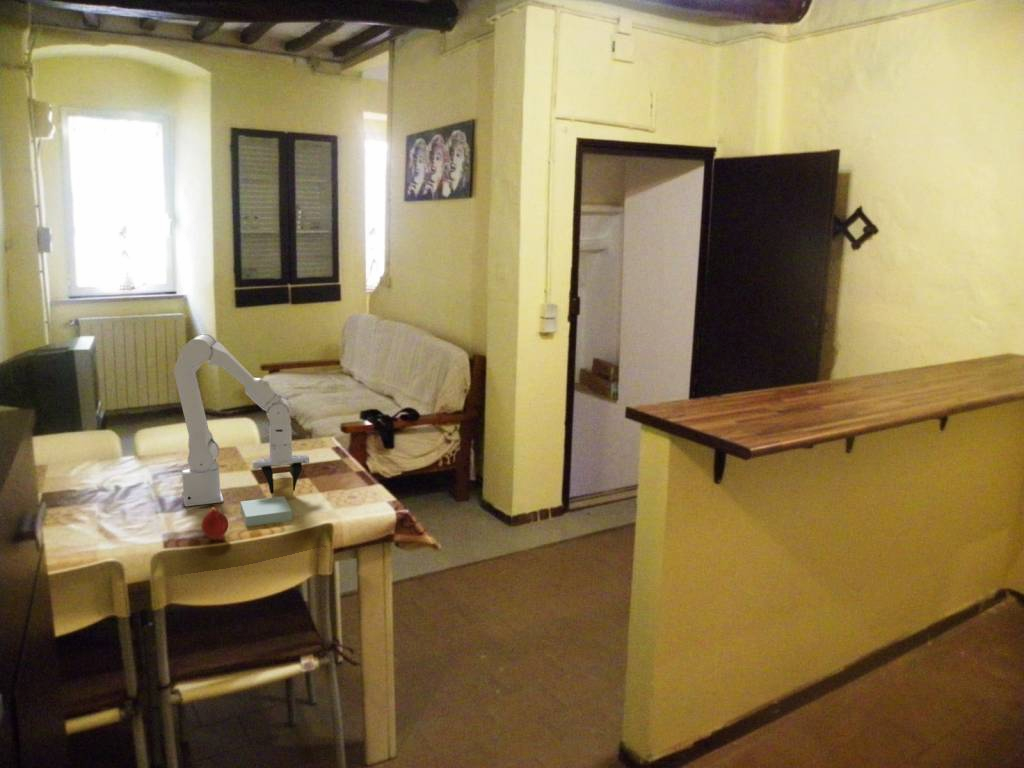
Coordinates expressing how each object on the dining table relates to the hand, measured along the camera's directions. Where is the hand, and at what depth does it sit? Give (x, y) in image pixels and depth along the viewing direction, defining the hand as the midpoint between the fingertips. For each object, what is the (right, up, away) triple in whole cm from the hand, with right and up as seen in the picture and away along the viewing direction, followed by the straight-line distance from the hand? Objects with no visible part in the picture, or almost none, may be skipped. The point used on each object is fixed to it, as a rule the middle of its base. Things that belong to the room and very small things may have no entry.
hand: (282, 491), depth 210 cm
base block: (0, -5, -13) cm, 14 cm away
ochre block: (0, -2, 0) cm, 2 cm away
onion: (-7, -8, -28) cm, 30 cm away
